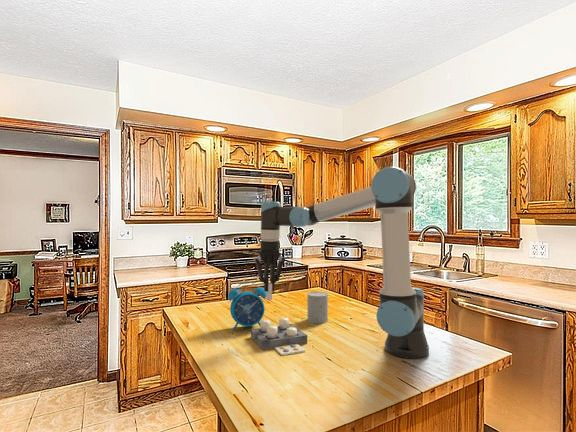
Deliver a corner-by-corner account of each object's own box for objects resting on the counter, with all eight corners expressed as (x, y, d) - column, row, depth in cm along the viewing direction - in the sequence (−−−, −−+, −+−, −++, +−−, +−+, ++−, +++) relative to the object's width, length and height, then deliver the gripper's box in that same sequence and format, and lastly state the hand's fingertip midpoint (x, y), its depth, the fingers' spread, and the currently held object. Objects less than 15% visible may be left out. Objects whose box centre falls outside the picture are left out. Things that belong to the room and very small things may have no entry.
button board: (307, 343, 135) (307, 335, 135) (262, 350, 128) (262, 341, 128) (292, 331, 149) (292, 324, 149) (250, 336, 142) (250, 329, 142)
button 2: (279, 337, 132) (279, 328, 132) (269, 338, 131) (268, 329, 131) (275, 334, 136) (275, 325, 136) (265, 335, 134) (265, 326, 134)
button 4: (298, 338, 135) (298, 329, 135) (288, 340, 134) (288, 331, 134) (294, 335, 139) (294, 326, 139) (285, 337, 137) (284, 328, 137)
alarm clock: (229, 333, 146) (229, 285, 146) (227, 325, 156) (227, 280, 156) (269, 330, 150) (268, 283, 150) (264, 322, 160) (264, 279, 160)
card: (304, 351, 126) (304, 349, 126) (281, 355, 123) (281, 353, 123) (297, 345, 133) (297, 342, 133) (274, 348, 129) (274, 346, 129)
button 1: (271, 330, 139) (271, 322, 139) (262, 332, 138) (262, 323, 138) (268, 327, 143) (268, 319, 143) (259, 329, 142) (259, 320, 142)
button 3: (290, 328, 143) (290, 319, 142) (281, 329, 141) (281, 320, 141) (286, 325, 146) (286, 317, 146) (277, 326, 145) (277, 318, 145)
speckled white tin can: (327, 317, 168) (327, 291, 168) (328, 323, 159) (328, 296, 159) (307, 317, 169) (307, 291, 169) (306, 323, 160) (306, 296, 160)
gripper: (281, 239, 146) (280, 295, 146) (251, 239, 141) (250, 298, 141) (288, 240, 139) (287, 300, 139) (257, 241, 134) (256, 303, 134)
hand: (269, 299), depth 140 cm, fingers closed
